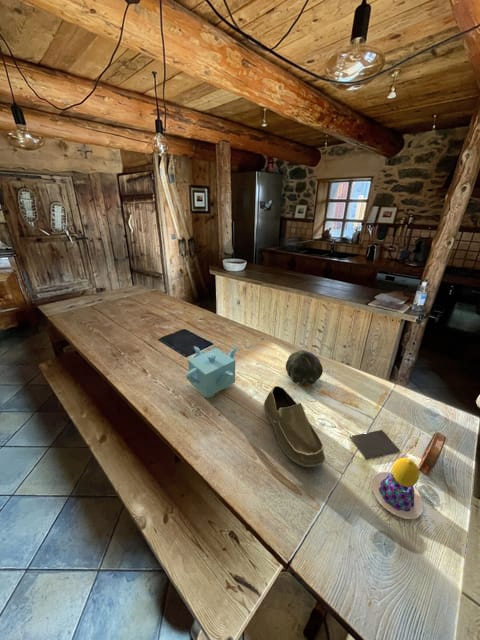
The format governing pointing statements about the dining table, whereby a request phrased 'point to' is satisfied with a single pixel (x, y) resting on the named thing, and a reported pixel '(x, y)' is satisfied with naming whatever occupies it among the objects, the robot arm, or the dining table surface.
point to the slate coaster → (374, 444)
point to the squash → (304, 367)
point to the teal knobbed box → (211, 371)
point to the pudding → (397, 496)
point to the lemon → (405, 472)
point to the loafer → (293, 429)
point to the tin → (432, 453)
